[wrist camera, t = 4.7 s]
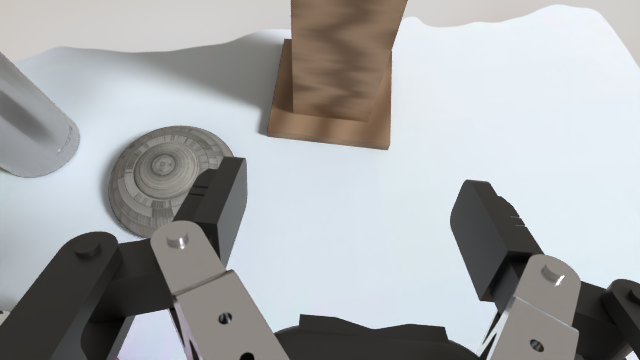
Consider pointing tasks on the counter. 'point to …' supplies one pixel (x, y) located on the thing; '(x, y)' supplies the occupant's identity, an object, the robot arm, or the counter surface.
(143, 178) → the flying saucer
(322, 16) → the walnut pedestal
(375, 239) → the counter surface
